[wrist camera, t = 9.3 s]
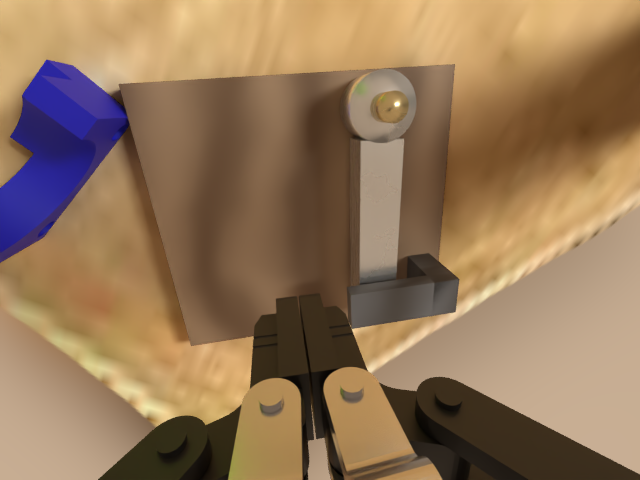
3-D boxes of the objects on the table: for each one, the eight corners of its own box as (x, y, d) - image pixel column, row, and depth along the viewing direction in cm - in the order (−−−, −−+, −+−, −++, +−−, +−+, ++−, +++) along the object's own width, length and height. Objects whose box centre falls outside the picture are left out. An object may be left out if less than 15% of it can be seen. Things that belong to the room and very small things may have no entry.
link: (339, 74, 22) (358, 65, 18) (400, 72, 23) (432, 64, 18) (342, 295, 29) (356, 328, 25) (389, 289, 30) (411, 320, 25)
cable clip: (74, 65, 21) (8, 50, 16) (137, 116, 23) (97, 119, 17) (-19, 198, 23) (-107, 226, 18) (45, 236, 25) (-17, 272, 19)
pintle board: (444, 66, 25) (500, 53, 19) (427, 299, 33) (463, 340, 27) (127, 85, 22) (78, 76, 16) (194, 335, 30) (177, 389, 24)
